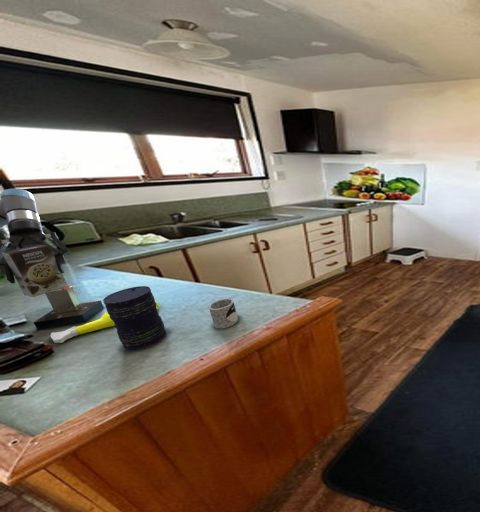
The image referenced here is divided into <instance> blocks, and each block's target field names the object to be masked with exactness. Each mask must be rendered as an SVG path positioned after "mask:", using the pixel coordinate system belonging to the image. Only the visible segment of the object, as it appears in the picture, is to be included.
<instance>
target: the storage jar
mask: <svg viewBox="0 0 480 512" xmlns="http://www.w3.org/2000/svg"><path fill="white" fill-rule="evenodd" d="M155 301H156V298H155V296H154V294H153V292H152V290H151V287H150V286H145V285H141V286H139V285H138V286H132V287H128V288H123V289H121V290H117V291H115V292H112V293H111V294H108V295H107V296H105V297H104V298H103V299H102V303H103V305H105V306H104V307H105V309H106V312H108V314H109V317H110V318H111V320H113V321H114V324H115V326H114V327H115V328H116V334H117V336H118V339H119V342H121V345H123V346H122V347H123V349H124V351H126V352H127V351H128V352H134V351H140V350H144V349H147V348H150V347H152V346H154V345H156V344H158V343H159V342H161V341H162V340H163V339H165V338H166V336H167V334H168V333H167V330H166V327H165V323H164V321H163V319H162V316H160V314H159V311H158V309H157V308H156V302H157V301H156V302H155Z"/></svg>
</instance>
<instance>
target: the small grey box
mask: <svg viewBox="0 0 480 512" xmlns="http://www.w3.org/2000/svg"><path fill="white" fill-rule="evenodd" d="M44 295H45V296H46V298H47V301H48V302H49V304H50V306H51V307H52V310H54V311H55V313H56V314H58V313H65V312H71V311H77V310H79V309H80V308H81V307H82V306H81V302H80V300H79V298H78V296H77V294H76V292H75V289H74V288H73V285H68V286H66V287H62V288H54V289H49V290H48V291H46V292H45V294H44Z"/></svg>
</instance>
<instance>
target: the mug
mask: <svg viewBox="0 0 480 512" xmlns="http://www.w3.org/2000/svg"><path fill="white" fill-rule="evenodd" d="M234 302H235V301H234V299H232V297H228V298H222V299H218V300H215V301H214V302H212V303H210V304H209V306H208V310H209V313H210V316H211V320H212V323H213V327H214V328H215V329H226V328H229V327H232V326H233V325H235V324H236V323H237V322H238V321H239V317H238V314H237V310H236V306H235V303H234Z"/></svg>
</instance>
